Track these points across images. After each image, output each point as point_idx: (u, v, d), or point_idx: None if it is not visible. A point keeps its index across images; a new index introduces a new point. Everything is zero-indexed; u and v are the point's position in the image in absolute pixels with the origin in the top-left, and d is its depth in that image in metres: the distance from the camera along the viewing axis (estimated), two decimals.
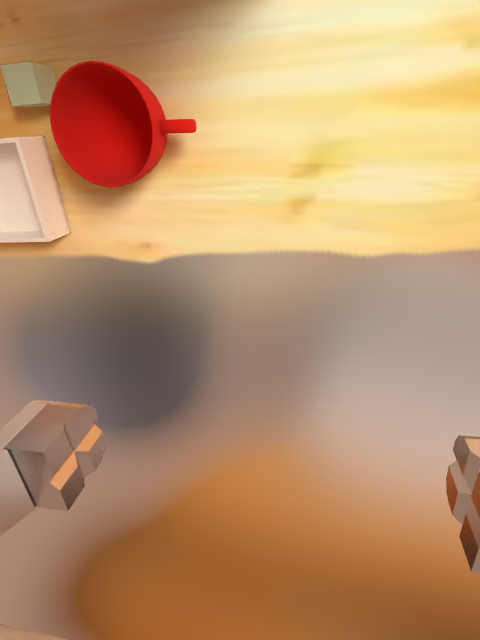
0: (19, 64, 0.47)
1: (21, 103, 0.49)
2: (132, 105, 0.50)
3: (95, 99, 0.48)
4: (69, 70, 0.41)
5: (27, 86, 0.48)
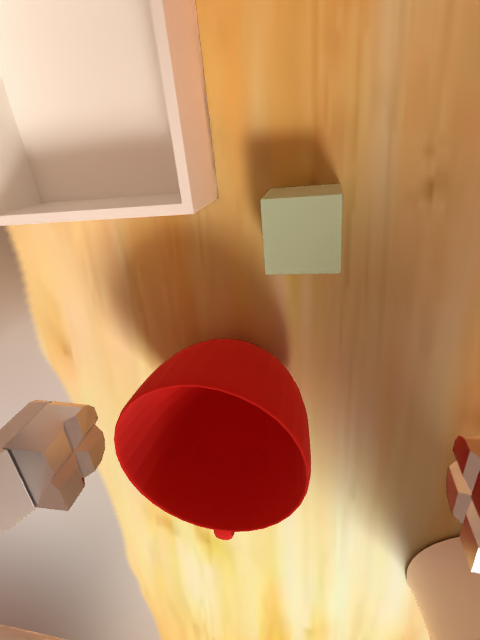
0: (338, 245, 0.21)
1: (265, 226, 0.22)
2: None
3: None
4: (298, 445, 0.22)
5: (296, 250, 0.22)
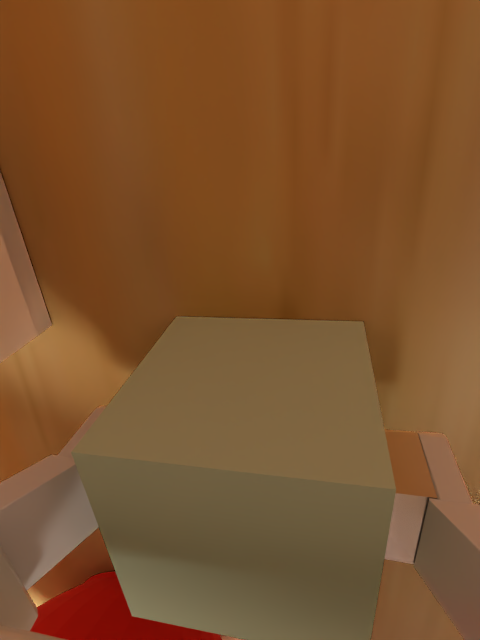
0: (363, 612, 0.06)
1: (106, 521, 0.06)
2: None
3: None
4: None
5: (217, 592, 0.06)
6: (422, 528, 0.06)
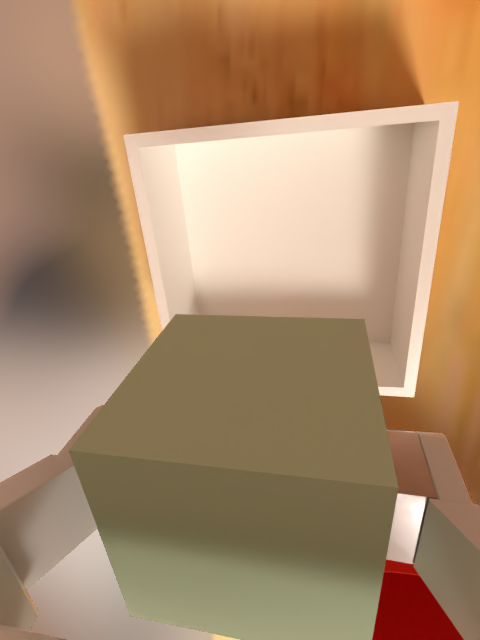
0: (365, 612, 0.06)
1: (104, 520, 0.06)
2: None
3: None
4: None
5: (216, 592, 0.06)
6: (422, 528, 0.06)
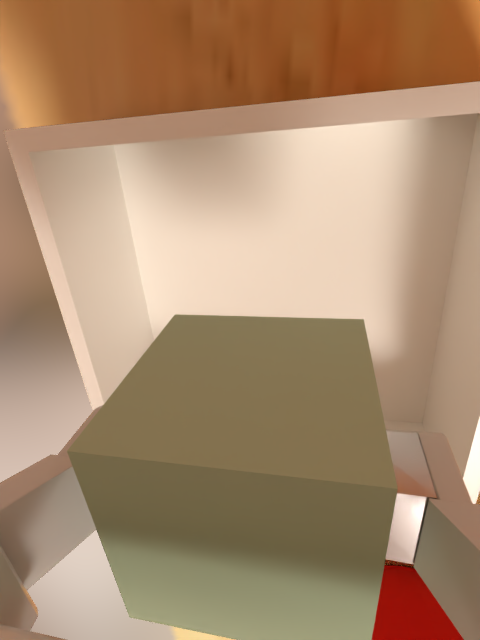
0: (364, 613, 0.06)
1: (103, 521, 0.06)
2: None
3: None
4: None
5: (215, 592, 0.06)
6: (422, 528, 0.06)
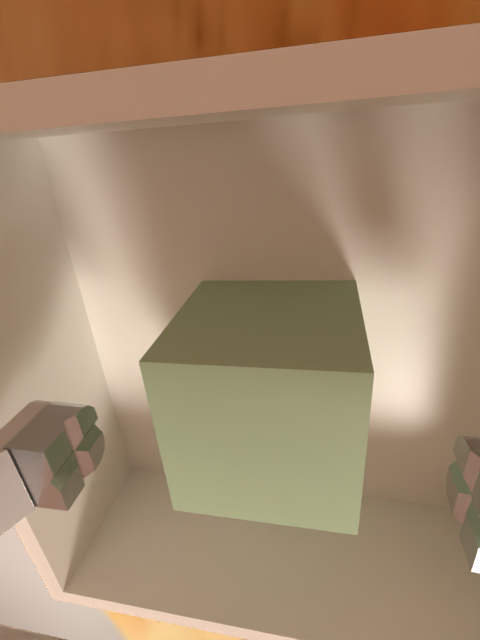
0: (354, 483, 0.08)
1: (160, 420, 0.08)
2: None
3: None
4: None
5: (243, 478, 0.08)
6: None
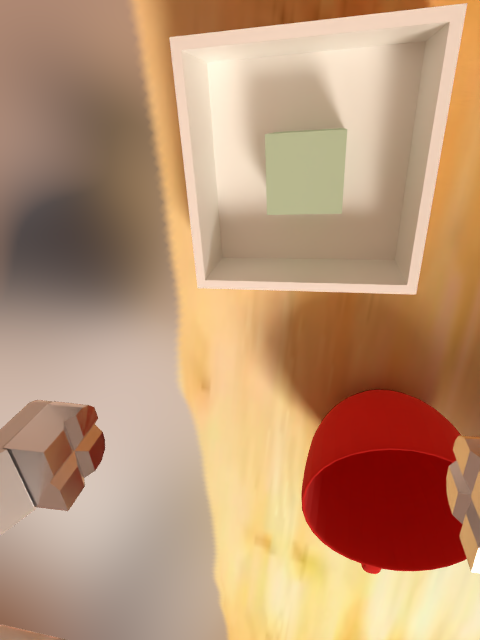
0: (340, 184, 0.22)
1: (268, 163, 0.22)
2: None
3: None
4: None
5: (298, 189, 0.22)
6: None
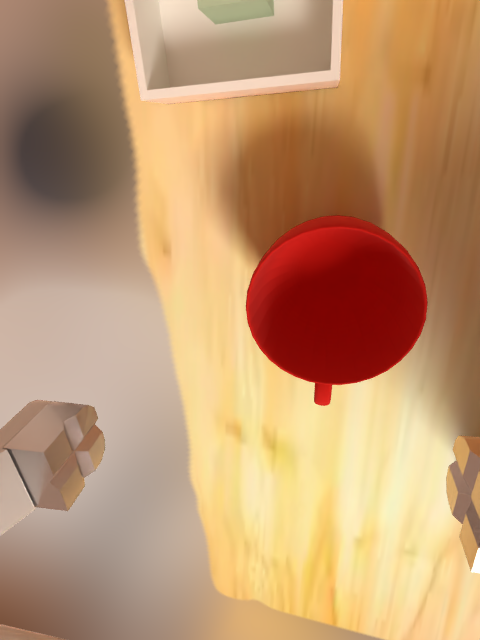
0: None
1: None
2: (359, 270, 0.35)
3: (376, 240, 0.31)
4: (421, 284, 0.25)
5: None
6: None
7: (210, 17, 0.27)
